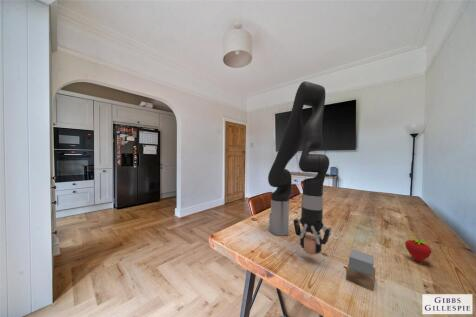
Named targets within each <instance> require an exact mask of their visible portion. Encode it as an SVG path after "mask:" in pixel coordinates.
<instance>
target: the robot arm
mask: <svg viewBox="0 0 476 317" xmlns="http://www.w3.org/2000/svg"><path fill="white" fill-rule="evenodd" d="M325 103H326V89H325V87H324V86H323V85H320V84H317V83H313V82H311V81H302V82H301V83H300V84H299V86H298V87H297V90H296V93H295V95H294V100H293V104H292V108H291V111H290V116H289V119H288V121H287V124H286V127H285V130H284V133H283V136H282V138H281V142H280V145H279V148H278V151H277V154H276V156H275V159H274V161H273V163H272V165H271V168H270V170H269V172H268V176H267V181H268V182H267V183H268V184H269V185H270V187H273V188H276V189H275V190H274V191H273V192H272V193H271V194H270V212H269V214H268V215H269V216H268V232H270V233H271V234H273V235H276V236H281V237H283V236H287V235H289V233H290V232H289V231H290V229H289V225H290V224H289V222H290V218H289V216H290V196H291V194H292V184H293V183H292V180H293V177H292V174H291V172H290V170H288V169H287V168H286V167H287V165H288V164H289V162H290V161H291V160H292V159H293V158H294V156H296V154H297V153H298V152H299V150H300V148H301V147H302V143H303V147H302V152H301V154H300V158H299V159H298V160H299V161H298V167H299V170H301V171H302V172H303V173H316V175H315V176H314V177H308V178H305V179H304V180H303V182H302V195H301V196H302V197H301V203H300V204H301V209H300V210H301V211H300V212H301V214H300V215H301V218H295V219H293V221H292V222H293V227H294V231H295V235H297V236H298V237H299V238H300V242H299V245H300V247H301V248H304V236H305V235H307V233H309V234H311V235H313V236H314V237H315V239H316V242H317V243H316V253H317V254H319V253H321V251H322V249H323V246H322V245H326V244H327V243H328V241H329V238H330V235H331V231H332V228H331V227H327V226H325V225H324V223H323V215H324V214H323V213H324V211H323V210H324V197H323V196H324V195H323V193H324V182H325V178H326V176H327V174H328V170H329V167H330V158H329V157H328V155H326V154H322V153H310V152H314V151H319V150H321V149H322V148H323V146H324V145H323V144H324V143H323V142H324V141H323V118H324V111H325ZM304 106H307V107H311V108H312V114H311V116H310V118H309V119H308V120H307V122H306V124H305V125H303V119H302V113H303V108H304ZM300 224H301V225H300ZM301 226H302V229H301ZM321 230H323V233H324V234H323V237H322V234H321ZM317 254H316V255H317Z"/></svg>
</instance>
